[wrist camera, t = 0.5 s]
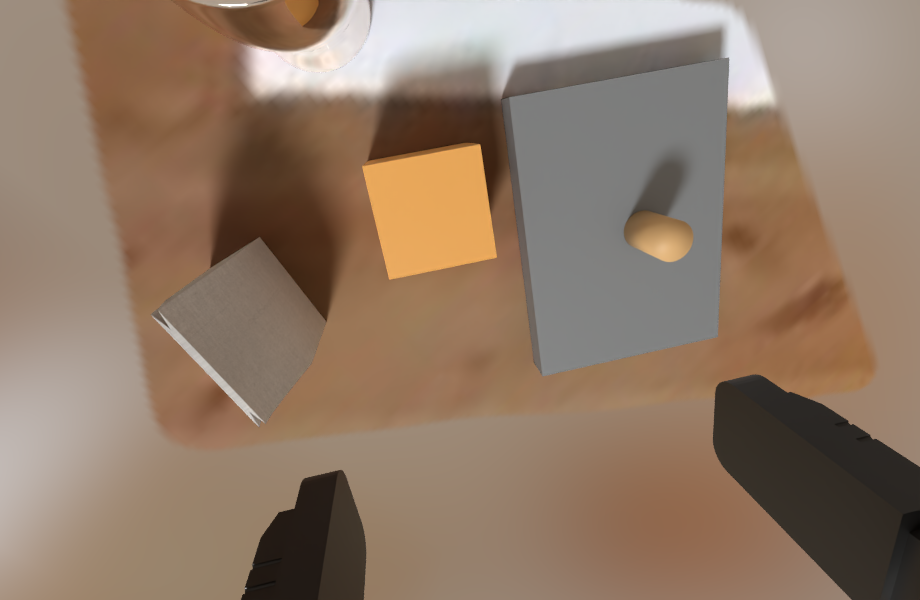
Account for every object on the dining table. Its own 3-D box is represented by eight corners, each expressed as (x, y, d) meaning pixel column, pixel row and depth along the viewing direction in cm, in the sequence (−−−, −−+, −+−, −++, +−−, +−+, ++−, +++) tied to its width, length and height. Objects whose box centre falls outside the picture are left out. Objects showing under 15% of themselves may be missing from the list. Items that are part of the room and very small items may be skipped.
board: (501, 99, 27) (526, 91, 22) (706, 62, 28) (777, 46, 23) (534, 362, 33) (559, 404, 28) (700, 325, 34) (753, 359, 29)
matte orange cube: (367, 160, 27) (362, 166, 22) (465, 142, 27) (480, 144, 23) (390, 256, 29) (389, 279, 25) (480, 238, 30) (496, 257, 25)
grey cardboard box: (259, 236, 28) (192, 288, 18) (326, 321, 30) (296, 405, 21) (210, 268, 28) (119, 334, 19) (280, 349, 30) (230, 444, 21)
